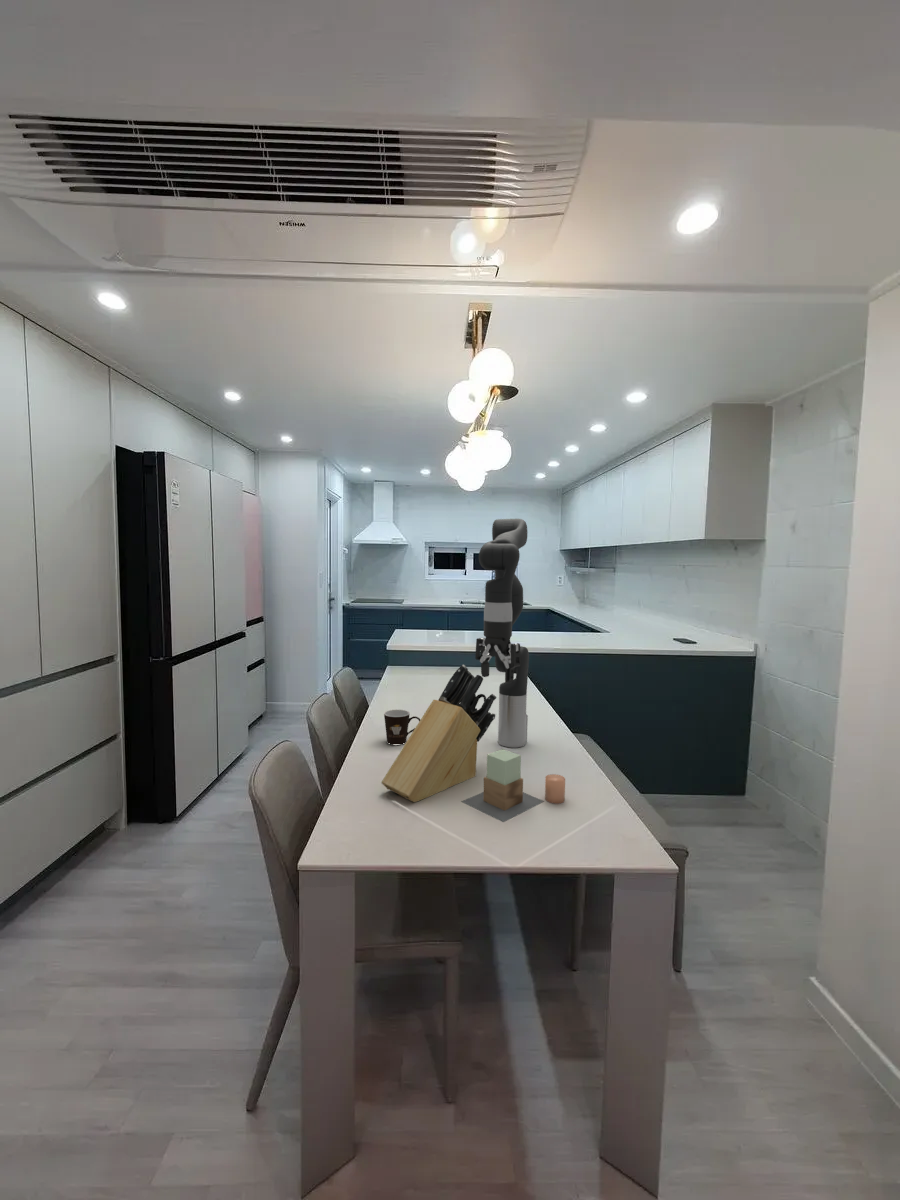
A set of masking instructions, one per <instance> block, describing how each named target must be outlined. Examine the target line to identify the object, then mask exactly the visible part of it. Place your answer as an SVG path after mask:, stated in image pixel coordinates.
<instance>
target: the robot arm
mask: <svg viewBox="0 0 900 1200" xmlns="http://www.w3.org/2000/svg"><path fill="white" fill-rule="evenodd" d="M526 522H527V521H525V520H524V519H522V518H497V519H495V520H494V521H493V522H492V527H491V534H492V535H491V537H492V540H490V541H488V542H485V543H484V544H483V545H482V546H481V547H480V550H479V552H478V562H479V565H480V566H481V567H482V569H484V570H485V571H494V579H489V580H487V581H486V583H485V590H484V591H485V594H484V597H485V598H484V601H485V602H484V607H483V636H484V637H479V638H476V639H475V641H476V643H475V654H474V656H475V657H474V658H475V660H476V661H479V662H480V663H481V664H480V672H481V673H480V674H481V677H483V678H487V677H489V676H490V661H491V659H492V657H493V658H494V664H495V669H496V670H497V671H498V672H500V673H505V674H504V675H505V676H504V682H502V683H500V684H499V687H498V696H499V697H498V723H497V725H498V726H497V728H498V729H497V730H498V732H497V743H498V744H499V745H500V746H501V747H506V748H521V747H524V746H526V743H528V725H529V724H528V719H529V715H528V714H527V698H528V697H527V696H528V694H527V692H528V691H527V690H528V680H529V679H528V678H529V677H528V676H529V675H528V674H529V667H530V666H529V665H530V663H529V662H530V653H529V649H528V648H527V647H526V646H521V643H518V642H517V643H512V642H511V637H512V636H513V626H514V624H515V623H516V621H517V620H518V619H519V617H520V615H521V613H522V611H523V609H524V587H523V584H522V583H521V581H520V579H519V578H518V576H517V575H516V571H517V567H518V565H519V561H520V558H521V557H520V556H521V553H520V549H521V548H524V547H525V545H526V544H527V541H528V524H527V523H526Z"/></svg>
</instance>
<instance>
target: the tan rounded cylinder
mask: <svg viewBox="0 0 900 1200" xmlns="http://www.w3.org/2000/svg"><path fill="white" fill-rule="evenodd" d="M544 778H545V782H544V783H545V784H544V785H545V787H544V799H545V800H544V801H546V802H548V803H551V804H557V805H558V804H563V803H564V802H565V800H566V799H565V797H566V778H565V777H564V776H563V775H561V774H556V773H555V774H553V773H552V774H547V775H545V777H544Z"/></svg>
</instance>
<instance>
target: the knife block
mask: <svg viewBox="0 0 900 1200" xmlns="http://www.w3.org/2000/svg"><path fill="white" fill-rule="evenodd" d="M483 681H484V677H482V675H479V674H476V675H475V676H474V675H473V674H472V673H471V672H470V670H469V668H468V667H467V666H466V665H465V664H462V665H460V667H459V668H457V669H456V671H455V672H454V673H453V675H452V676H451V677H450V679H449V681H448V682H447V684H446V685H445V687H444V690H443V691H442V693H441V694H440V696H439V697H438V699H432V702H431V703H430V704H429V705H428V708H426V710H425V712H424V714H423V715H422V717H421V718H420V721H419V720H418V723H417V725H416V726H415V727H414V728H415V729H414V728H413V729H414V731H413V732H411V733H410V736H409V737H408V738H407V739H406V743H405V744H403V747H402V748H401V750H400V752H399V754H398V755H397V756H396V758H395V760H394V761H393V763H392V765H391V766H390V767H389V770H388V771H387V772H386V774H385V776H384V778H383V779H382V781H381V784H382V785H383V786H384V787H385V788H386V789H387V790H390V791H391V792H393V793H396V794H397V795H399V796H401V797H403V798H405V799H406V800H409V801H410V802H413V803H417V802H419V801H422V800H424V799H427V798H429V797H431V796H433V795H436V794H438V793H441V792H444V791H445V790H447V789H449V788H452V787H453V786H457V785H458V784H460V783H463V782H465V781H467V780H471V779H473V778H474V777H476V775H477V774H476V773H477V754H478V743H479V742H480V741H481V739H482V738H483V736H484V735H485V734H486V732H487V730H488V728H489V727H490V725H491V724H492V722H493V721H494V720H495V719H496V713H492V712H490V709H491V707H492V705H493V704H494V701H495V700H496V699H497V696H496V695H495V694H493V693H491V694H490V695H489V696H488V697H487V696H486V695H485V694H483V693H479V694H477V695H476V693H477V692H478V690H479V689H480V687H481V685H482V683H483ZM481 698H483V704H482V705H481V707H480V708H479V709H478V708H476V707H477V705H478V702H479V700H480V699H481Z"/></svg>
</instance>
